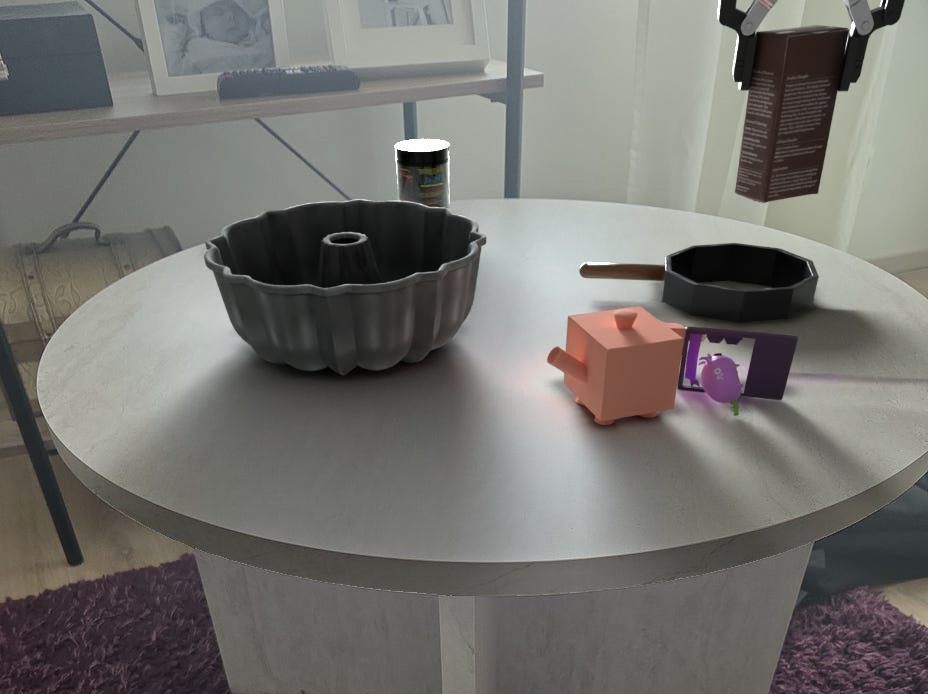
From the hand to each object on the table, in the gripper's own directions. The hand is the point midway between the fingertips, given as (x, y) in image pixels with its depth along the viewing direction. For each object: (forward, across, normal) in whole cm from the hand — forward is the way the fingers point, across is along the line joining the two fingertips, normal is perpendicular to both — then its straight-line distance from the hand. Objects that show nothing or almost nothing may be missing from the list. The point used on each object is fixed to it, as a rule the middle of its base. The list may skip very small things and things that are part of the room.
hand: (792, 89), depth 74 cm
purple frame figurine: (+22, -2, -12) cm, 25 cm away
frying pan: (+22, -5, +13) cm, 26 cm away
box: (+8, 0, 0) cm, 8 cm away
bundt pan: (+22, -38, -2) cm, 44 cm away
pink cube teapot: (+22, -12, -14) cm, 29 cm away
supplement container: (+22, -38, +35) cm, 56 cm away
